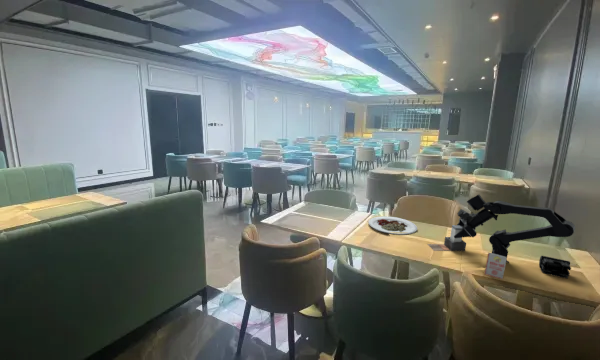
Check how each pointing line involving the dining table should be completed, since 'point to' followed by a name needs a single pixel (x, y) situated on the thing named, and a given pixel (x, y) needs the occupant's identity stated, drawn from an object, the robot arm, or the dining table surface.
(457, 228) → the plug
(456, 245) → the socket deck
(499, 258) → the tea bag
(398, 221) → the plated food
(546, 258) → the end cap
